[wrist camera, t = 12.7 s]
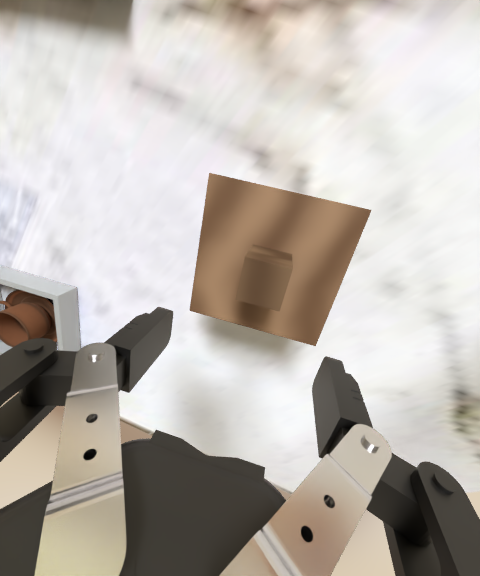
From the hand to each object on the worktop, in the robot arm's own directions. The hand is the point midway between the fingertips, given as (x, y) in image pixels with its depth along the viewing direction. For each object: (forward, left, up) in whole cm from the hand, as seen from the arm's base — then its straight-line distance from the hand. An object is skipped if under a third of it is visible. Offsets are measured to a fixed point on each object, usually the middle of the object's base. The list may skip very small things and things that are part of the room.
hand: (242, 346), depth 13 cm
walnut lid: (0, 0, -15) cm, 15 cm away
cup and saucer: (+40, +25, -25) cm, 53 cm away
